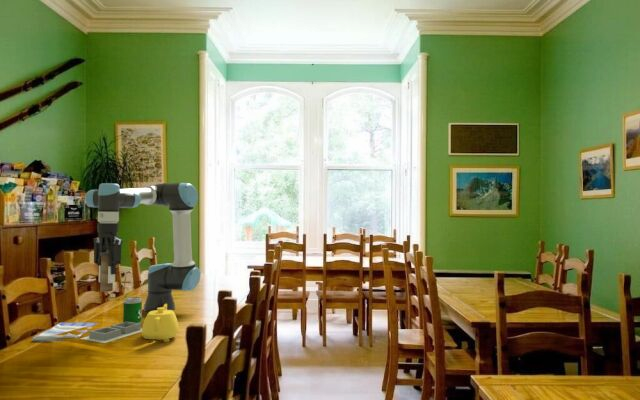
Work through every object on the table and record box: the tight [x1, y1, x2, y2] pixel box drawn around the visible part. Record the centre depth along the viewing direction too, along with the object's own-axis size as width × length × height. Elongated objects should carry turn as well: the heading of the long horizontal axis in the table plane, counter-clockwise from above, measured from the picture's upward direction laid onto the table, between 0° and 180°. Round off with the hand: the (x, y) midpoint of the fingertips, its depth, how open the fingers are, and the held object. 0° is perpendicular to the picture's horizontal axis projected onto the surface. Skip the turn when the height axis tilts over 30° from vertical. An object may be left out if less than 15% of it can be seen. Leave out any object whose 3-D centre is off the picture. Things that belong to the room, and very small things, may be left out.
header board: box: [79, 321, 142, 344], centre depth 182 cm, size 22×13×4 cm, turn 156°
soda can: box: [122, 296, 143, 324], centre depth 200 cm, size 8×8×12 cm
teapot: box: [141, 304, 179, 344], centre depth 180 cm, size 13×20×12 cm
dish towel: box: [31, 322, 99, 342], centre depth 186 cm, size 17×24×3 cm
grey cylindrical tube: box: [99, 251, 114, 293], centre depth 178 cm, size 5×5×15 cm
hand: (106, 282), depth 178 cm, fingers closed on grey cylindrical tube, 4 cm apart
